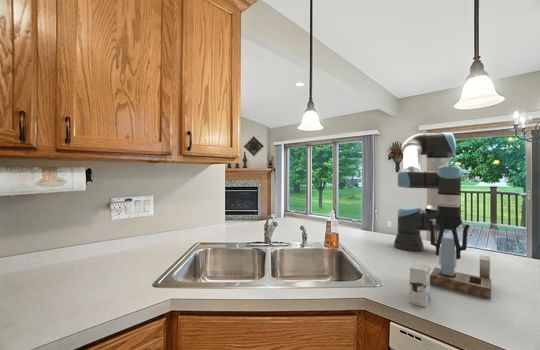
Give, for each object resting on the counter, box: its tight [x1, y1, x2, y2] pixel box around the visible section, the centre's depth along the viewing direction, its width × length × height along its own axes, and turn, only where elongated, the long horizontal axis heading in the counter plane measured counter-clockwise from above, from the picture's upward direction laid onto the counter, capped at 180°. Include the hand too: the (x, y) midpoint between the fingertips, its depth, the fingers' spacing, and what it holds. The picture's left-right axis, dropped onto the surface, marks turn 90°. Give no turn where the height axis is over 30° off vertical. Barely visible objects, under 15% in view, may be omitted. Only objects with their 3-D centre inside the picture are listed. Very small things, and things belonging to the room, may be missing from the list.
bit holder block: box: [430, 267, 492, 300], centre depth 100 cm, size 18×11×4 cm, turn 49°
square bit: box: [440, 235, 456, 276], centre depth 102 cm, size 4×4×14 cm
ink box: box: [409, 261, 431, 308], centre depth 88 cm, size 8×5×12 cm, turn 141°
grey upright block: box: [479, 254, 491, 279], centre depth 103 cm, size 3×6×10 cm, turn 139°
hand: (447, 265), depth 102 cm, fingers closed on square bit, 4 cm apart
